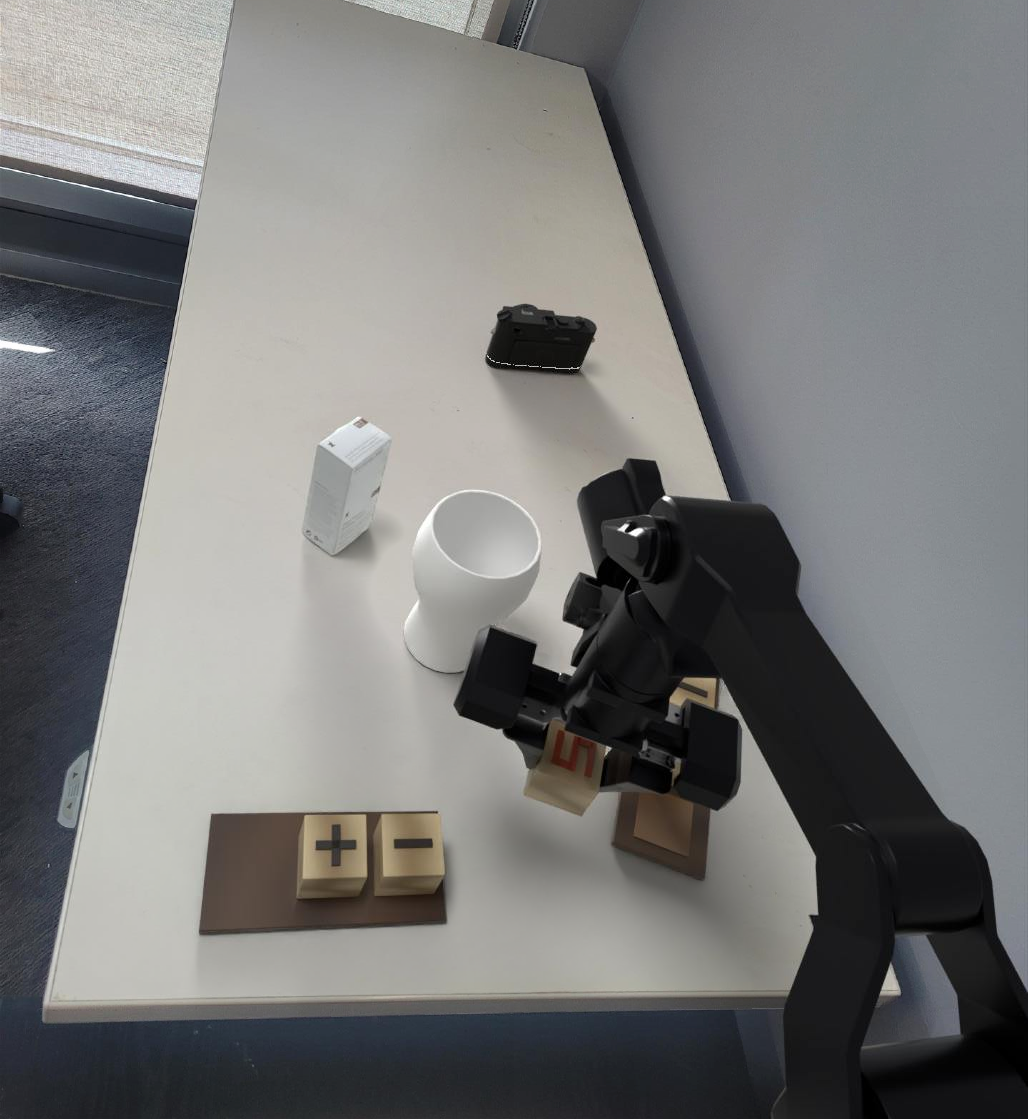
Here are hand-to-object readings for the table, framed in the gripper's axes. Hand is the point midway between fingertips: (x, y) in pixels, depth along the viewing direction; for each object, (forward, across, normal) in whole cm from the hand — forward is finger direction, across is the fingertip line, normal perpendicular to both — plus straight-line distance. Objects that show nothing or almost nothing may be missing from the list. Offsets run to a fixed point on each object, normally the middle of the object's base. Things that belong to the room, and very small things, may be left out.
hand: (561, 774), depth 65 cm
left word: (+11, +13, +7) cm, 19 cm away
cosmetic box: (+11, +24, -23) cm, 36 cm away
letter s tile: (+1, 0, 0) cm, 1 cm away
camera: (+11, +12, -62) cm, 64 cm away
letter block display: (+11, -12, -17) cm, 24 cm away
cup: (+11, +11, -16) cm, 22 cm away
